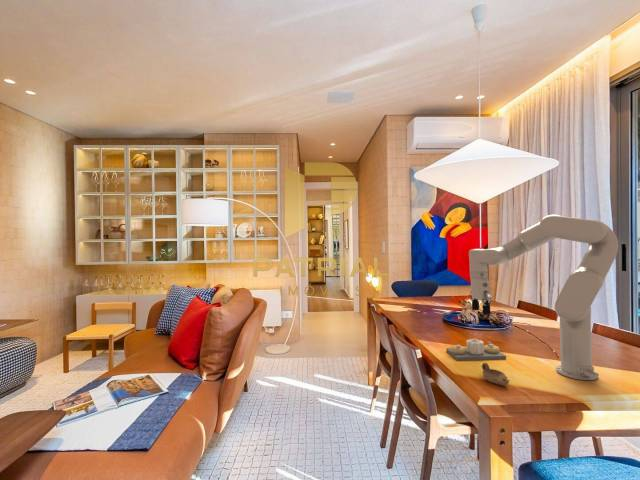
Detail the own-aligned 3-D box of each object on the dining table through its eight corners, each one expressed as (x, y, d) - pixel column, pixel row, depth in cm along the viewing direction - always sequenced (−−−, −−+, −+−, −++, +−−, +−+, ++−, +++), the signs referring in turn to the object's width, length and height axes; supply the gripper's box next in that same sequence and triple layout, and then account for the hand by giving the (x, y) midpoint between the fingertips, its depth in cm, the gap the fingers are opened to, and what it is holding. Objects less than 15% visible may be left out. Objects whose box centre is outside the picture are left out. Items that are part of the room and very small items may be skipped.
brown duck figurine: (515, 388, 115) (514, 374, 115) (495, 389, 115) (494, 375, 115) (493, 373, 128) (492, 361, 128) (474, 374, 128) (474, 362, 128)
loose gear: (487, 354, 144) (486, 343, 144) (470, 355, 145) (470, 343, 145) (479, 349, 152) (479, 338, 152) (464, 349, 152) (463, 339, 152)
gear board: (506, 359, 142) (505, 342, 142) (456, 360, 143) (456, 343, 143) (492, 349, 154) (491, 334, 154) (446, 351, 155) (445, 335, 155)
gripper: (497, 276, 142) (499, 315, 141) (477, 273, 159) (479, 308, 159) (480, 277, 141) (482, 316, 141) (462, 274, 159) (464, 308, 158)
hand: (481, 312), depth 150 cm, fingers open, 9 cm apart
